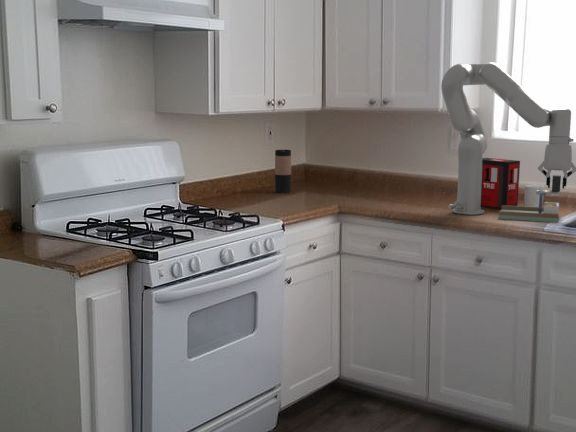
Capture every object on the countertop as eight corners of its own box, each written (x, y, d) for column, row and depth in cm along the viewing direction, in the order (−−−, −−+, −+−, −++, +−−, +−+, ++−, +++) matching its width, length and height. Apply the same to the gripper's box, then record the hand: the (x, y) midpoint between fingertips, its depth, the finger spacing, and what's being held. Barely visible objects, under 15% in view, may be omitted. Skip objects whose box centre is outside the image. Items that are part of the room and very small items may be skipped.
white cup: (527, 207, 337) (529, 184, 336) (546, 209, 333) (547, 185, 331) (520, 209, 331) (521, 186, 330) (538, 211, 327) (540, 187, 325)
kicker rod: (558, 212, 313) (560, 175, 310) (558, 215, 307) (560, 176, 305) (534, 211, 316) (537, 174, 313) (534, 213, 310) (536, 175, 307)
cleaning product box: (472, 205, 343) (474, 159, 339) (483, 203, 349) (486, 157, 345) (505, 210, 331) (508, 162, 327) (517, 207, 337) (520, 160, 333)
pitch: (558, 215, 318) (558, 208, 317) (558, 222, 303) (558, 214, 302) (501, 212, 325) (501, 205, 324) (498, 218, 310) (499, 211, 309)
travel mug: (272, 191, 381) (273, 149, 377) (288, 190, 383) (288, 149, 380) (277, 193, 374) (277, 151, 370) (293, 193, 376) (293, 150, 373)
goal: (558, 212, 315) (559, 202, 314) (558, 217, 305) (559, 207, 304) (543, 212, 317) (544, 202, 316) (543, 216, 307) (543, 206, 306)
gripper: (582, 140, 306) (578, 187, 309) (536, 139, 312) (533, 185, 315) (582, 142, 299) (579, 190, 302) (535, 140, 305) (532, 188, 308)
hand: (556, 187), depth 309 cm, fingers open, 4 cm apart
